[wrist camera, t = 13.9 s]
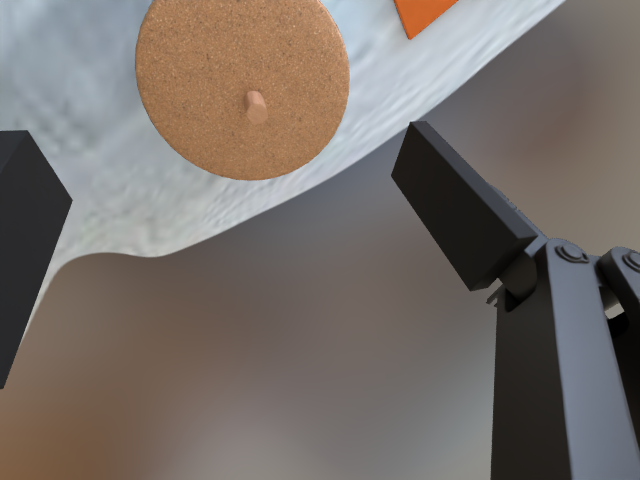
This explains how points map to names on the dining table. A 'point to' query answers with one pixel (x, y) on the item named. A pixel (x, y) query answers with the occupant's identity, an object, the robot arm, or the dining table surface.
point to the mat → (420, 13)
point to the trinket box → (243, 82)
